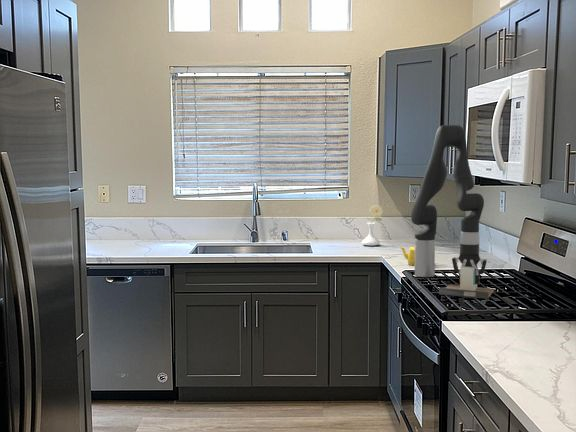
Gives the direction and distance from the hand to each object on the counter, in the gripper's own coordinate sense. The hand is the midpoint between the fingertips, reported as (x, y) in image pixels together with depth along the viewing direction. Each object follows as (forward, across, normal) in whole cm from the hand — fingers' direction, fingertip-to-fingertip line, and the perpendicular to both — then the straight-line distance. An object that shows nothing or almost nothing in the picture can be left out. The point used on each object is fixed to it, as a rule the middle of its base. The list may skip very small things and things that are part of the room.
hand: (468, 283), depth 255 cm
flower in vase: (+5, +77, -102) cm, 128 cm away
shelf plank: (+4, 0, +2) cm, 5 cm away
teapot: (+5, +36, -56) cm, 66 cm away
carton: (+3, 0, 0) cm, 3 cm away
